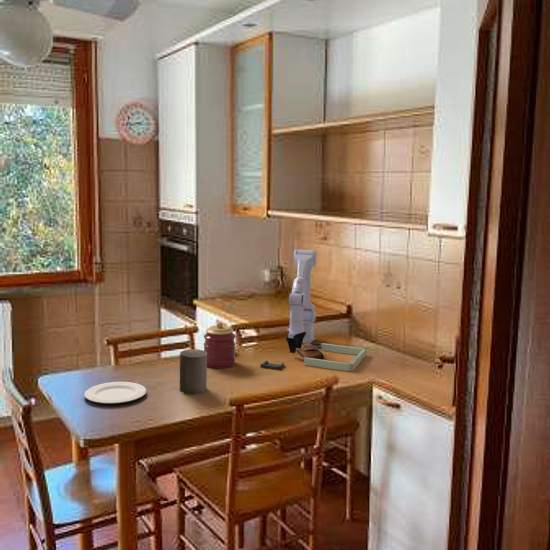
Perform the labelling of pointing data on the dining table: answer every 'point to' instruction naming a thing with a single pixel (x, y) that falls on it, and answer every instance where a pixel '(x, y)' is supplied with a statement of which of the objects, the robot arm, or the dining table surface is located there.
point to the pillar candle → (193, 371)
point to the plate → (115, 392)
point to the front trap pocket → (272, 365)
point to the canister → (220, 346)
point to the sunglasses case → (310, 351)
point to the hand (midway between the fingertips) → (295, 350)
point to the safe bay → (333, 364)
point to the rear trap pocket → (315, 345)
